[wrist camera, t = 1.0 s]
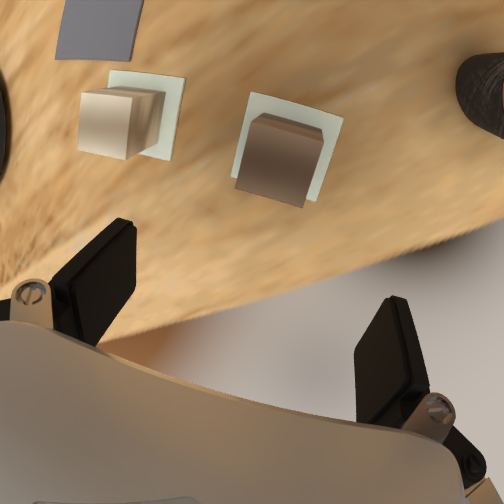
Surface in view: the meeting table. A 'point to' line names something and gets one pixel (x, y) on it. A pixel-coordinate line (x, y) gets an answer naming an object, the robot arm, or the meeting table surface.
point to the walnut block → (279, 159)
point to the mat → (98, 29)
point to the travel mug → (483, 91)
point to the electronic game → (2, 131)
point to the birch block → (119, 120)
